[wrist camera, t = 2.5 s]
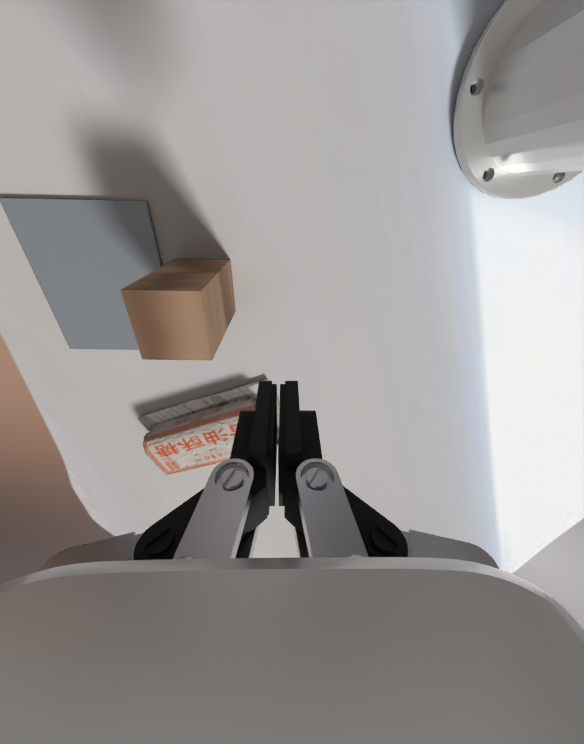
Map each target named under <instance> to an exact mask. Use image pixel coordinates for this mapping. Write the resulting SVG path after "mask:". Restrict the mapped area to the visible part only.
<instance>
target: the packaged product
mask: <svg viewBox="0 0 584 744" xmlns="http://www.w3.org/2000/svg"><path fill="white" fill-rule="evenodd" d="M261 381H268V379H265V380H261ZM258 385H259V381H257V382H253V383H250V384H247V385H244V386H241V387H238V388H234V389H231V390H228V391H224V392H221V393H217V394H213V395H209V396H206V397H203V398H198V399H194V400H190V401H187V402H184V403H182V404H179V405H177V406H173V407H169V408H166V409H162V410H159V411H156V412H152V413H149V414H146V415H143V416H141V417H139V420H140V421H141V422H142V423H143V425H144V426H145V427H146V428H147V429H148V430H149V431H150V432H149V433H147V434H146V435H145V436H144V441H143V447H144V449H145V454H146V455H147V456H149V457H150V458H151V460H153V461H154V462H155V464H156V465H157V466H158V468H159V469H161V470H162V471H163V472H164V474H166V475H169V474H173V473H177V472H178V473H179V472H182V471H187V470H190V469H194V468H199V467H203V466H207V465H211V464H215V463H218V462H223V461H225V460H229V459H230V456H231V451H232V446H233V442H234V437H235V433H236V428H237V423H238V419H239V414H240V411H255V405H256V399H257V392H258ZM279 415H280V403H279V400H278V398H277V447H278V446H279Z"/></svg>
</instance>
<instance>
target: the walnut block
mask: <svg viewBox="0 0 584 744" xmlns="http://www.w3.org/2000/svg"><path fill="white" fill-rule="evenodd" d="M120 291H121V294H122V297H123V300H124V303H125V306H126V310H127V313H128V316H129V319H130V322H131V325H132V328H133V331H134V334H135V338H136V341H137V344H138V347H139V350H140V353H141V356H142V359H156V360H212V359H213V357H214V355H215V353H216V351H217V349H218V347H219V345H220V342H221V340H222V338H223V336H224V334H225V332H226V330H227V328H228V326H229V324H230V321H231V319H232V317H233V315H234V313H235V301H234V291H233V281H232V271H231V260H230V259H177V258H176V259H175V260H173V261H171V262H169V263H167V264H166V265H164V266H162V267H160V268H159V269H157V270H155V271H153V272H151V273H150V274H148V275H146V276H144V277H142V278H141V279H139V280H137V281H135V282H133V283H132V284H130V285H128V286H126V287H125V288H123V289H121V290H120Z"/></svg>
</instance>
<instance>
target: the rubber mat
mask: <svg viewBox="0 0 584 744" xmlns="http://www.w3.org/2000/svg"><path fill="white" fill-rule="evenodd" d="M0 202H1V204H2V206H3V209H4V211H5V213H6V215H7V217H8V219H9V221H10V223H11V225H12V228H13V230H14V232H15V234H16V236H17V238H18V240H19V242H20V244H21V246H22V249H23V251H24V253H25V255H26V257H27V259H28V261H29V263H30V265H31V268H32V270H33V272H34V274H35V276H36V278H37V280H38V282H39V284H40V286H41V289H42V291H43V293H44V295H45V297H46V299H47V301H48V303H49V305H50V308H51V310H52V312H53V314H54V316H55V318H56V320H57V322H58V324H59V326H60V329H61V331H62V333H63V335H64V337H65V339H66V341H67V343H68V345H69V347H70V349H124V350H139V347H138V344H137V341H136V338H135V334H134V331H133V328H132V325H131V322H130V319H129V316H128V313H127V310H126V306H125V303H124V300H123V297H122V294H121V291H120V290H121V289H123V288H125V287H126V286H128V285H130V284H132V283H133V282H135V281H137V280H139V279H141V278H142V277H144V276H146V275H148V274H150V273H151V272H153V271H155V270H157V269H159V268H160V267H162V265H161V260H160V256H159V252H158V247H157V243H156V239H155V234H154V230H153V225H152V221H151V217H150V212H149V208H148V204H147V201H119V200H72V199H25V198H0Z"/></svg>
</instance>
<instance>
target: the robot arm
mask: <svg viewBox="0 0 584 744" xmlns="http://www.w3.org/2000/svg"><path fill="white" fill-rule="evenodd" d="M470 86H471V87H472V88H473V92H472V94H471V93H470ZM454 144H455V149H456V155H457V159H458V161H459V164H460V166H461V169H462V171H463V173H464V174H465V176H466V177H467V178H468V180H469V181H470V183H471V184H472V185H474V186H475V187H476V188H477V189H479V190H480V191H481V192H483V193H485V194H488V195H490V196H492V197H497V198H504V199H523V198H529V197H534V196H538V195H541V194H543V193H546V192H549V191H551V190H554V189H556V188H557V187H559V186H561V185H563V184H565V183H566V182H568V181H570V180H572V179H573V178H574V177H576V176H577V175H578V174H580V173H581V172H582V171H584V0H505V1H504V2H503V4H502V5H501V6H500V8H499V9H498V10H497V12H496V13H495V14H494V16H493V17H492V19H491V20H490V21H489V23H488V24H487V26H486V28H485V30H484V31H483V33H482V35H481V37H480V39H479V40H478V42H477V44H476V46H475V47H474V50H473V52H472V54H471V57H470V59H469V62H468V64H467V66H466V69H465V71H464V74H463V77H462V81H461V84H460V88H459V91H458V95H457V100H456V107H455V114H454ZM483 173H485V175H484V177H483ZM482 177H483V178H482ZM276 454H277V384H272V381H259V385H258V392H257V399H256V405H255V411H240V414H239V419H238V423H237V428H236V433H235V437H234V442H233V446H232V451H231V456H230V459H229V460H225V461H223V462H222V463H220V464H219V465H217V466H216V467H215V468H214V470H213V471H212V473H211V475H210V477H209V479H208V482H207V484H206V486H205V488H204V489H203V490H201V491H200V492H198V493H197V494H196V495H194V496H193V497H191V498H190V499H188V500H187V501H186V502H184V503H183V504H181V505H180V506H179V507H177V508H176V509H174V510H173V511H172V512H170V513H169V514H167V515H166V516H165V517H163V518H162V519H160V520H159V521H158V522H156V523H155V524H153V525H152V526H151V527H149V528H148V529H147V530H146V531H145V532H144V533H142V534H138V535H136V534H135V532H132V533H128V534H124V535H120V536H115V537H111V538H107V539H103V540H98V541H94V542H90V543H86V544H82V545H77V546H73V547H69V548H66V549H63V550H61V551H59V552H57V553H56V554H54V555H53V556H51V557H50V558H49V559H48V560H47V561H46V562H45V563H44V564H43V565H42V566H41V567H40V569H39V570H38V572H36V573H33V574H30V575H27V576H24V577H21V578H19V579H16V580H14V581H11V582H9V583H7V584H4V585H2V586H0V744H584V629H583V628H582V627H581V626H580V625H579V623H578V622H577V621H576V620H575V619H574V618H573V617H572V616H571V614H570V613H568V611H567V610H566V609H565V608H564V607H563V606H562V605H560V604H559V603H558V602H557V601H556V600H555V599H554V598H553V597H552V596H550V595H548V594H547V593H546V592H544V591H543V590H541V589H540V588H538V587H537V586H535V585H533V584H531V583H529V582H527V581H525V580H524V579H522V578H519V577H517V576H515V575H513V574H510V573H508V572H506V571H503V570H500V569H499V568H498V566H497V564H496V562H495V561H494V560H493V558H492V557H491V556H490V555H489V554H488V553H487V552H486V551H484V550H483V549H481V548H480V547H478V546H476V545H473V544H471V543H467V542H463V541H458V540H454V539H449V538H445V537H440V536H436V535H431V534H427V533H423V532H418V531H414V530H409V532H404V531H400V530H399V529H398V528H397V527H396V526H395V525H394V524H393V523H391V522H390V521H389V520H387V519H386V518H385V517H383V516H382V515H381V514H380V513H378V512H377V511H376V510H374V509H373V508H372V507H370V506H369V505H368V504H366V503H365V502H364V501H362V500H361V499H360V498H358V497H357V496H356V495H354V494H353V493H352V492H350V491H349V490H348V489H346V488H345V487H344V486H343V485H342V483H341V480H340V477H339V474H338V472H337V470H336V469H335V467H334V466H333V465H332V464H331V463H329V462H327V461H326V460H322V454H321V446H320V439H319V432H318V425H317V418H316V412H315V411H300V410H299V395H298V381H285V384H280V415H279V448H278V464H279V506H285V518H286V519H287V520H288V521H289V522H290V523H291V524H292V525H293V526H294V534H295V540H296V546H297V552H298V558H252V555H253V550H254V546H255V542H256V537H257V533H258V525H260V524H261V523H262V522H263V521H264V520H265V519H266V518H267V515H269V506H274V505H275V481H276Z"/></svg>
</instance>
